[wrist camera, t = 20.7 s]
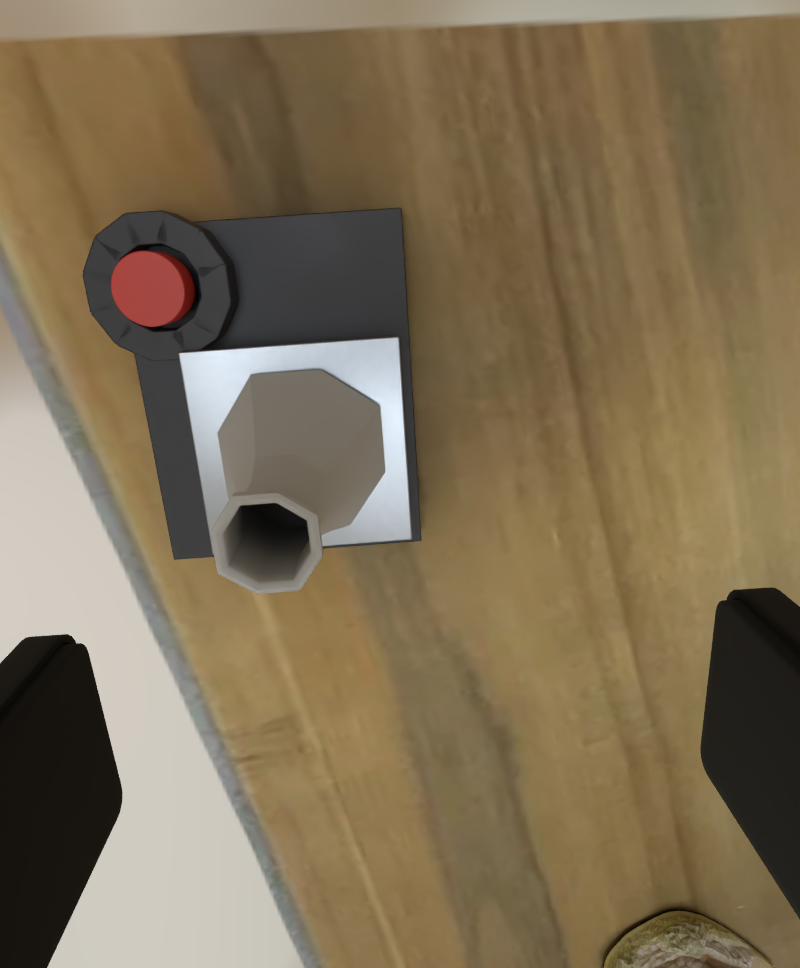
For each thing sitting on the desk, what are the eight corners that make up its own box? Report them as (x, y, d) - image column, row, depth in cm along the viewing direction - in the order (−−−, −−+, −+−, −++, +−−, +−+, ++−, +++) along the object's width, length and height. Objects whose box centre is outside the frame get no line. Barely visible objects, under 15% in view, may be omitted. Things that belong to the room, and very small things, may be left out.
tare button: (118, 254, 26) (103, 253, 24) (189, 249, 26) (177, 248, 24) (132, 326, 27) (118, 329, 25) (200, 321, 27) (190, 324, 25)
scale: (100, 221, 28) (69, 216, 25) (399, 201, 28) (402, 194, 25) (165, 549, 33) (145, 576, 30) (419, 530, 33) (424, 555, 30)
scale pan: (181, 350, 27) (177, 352, 26) (398, 335, 27) (399, 336, 26) (215, 550, 30) (212, 555, 29) (411, 535, 30) (412, 539, 29)
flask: (233, 346, 26) (154, 390, 17) (406, 389, 27) (423, 454, 18) (205, 509, 28) (120, 629, 19) (366, 544, 29) (361, 677, 20)
